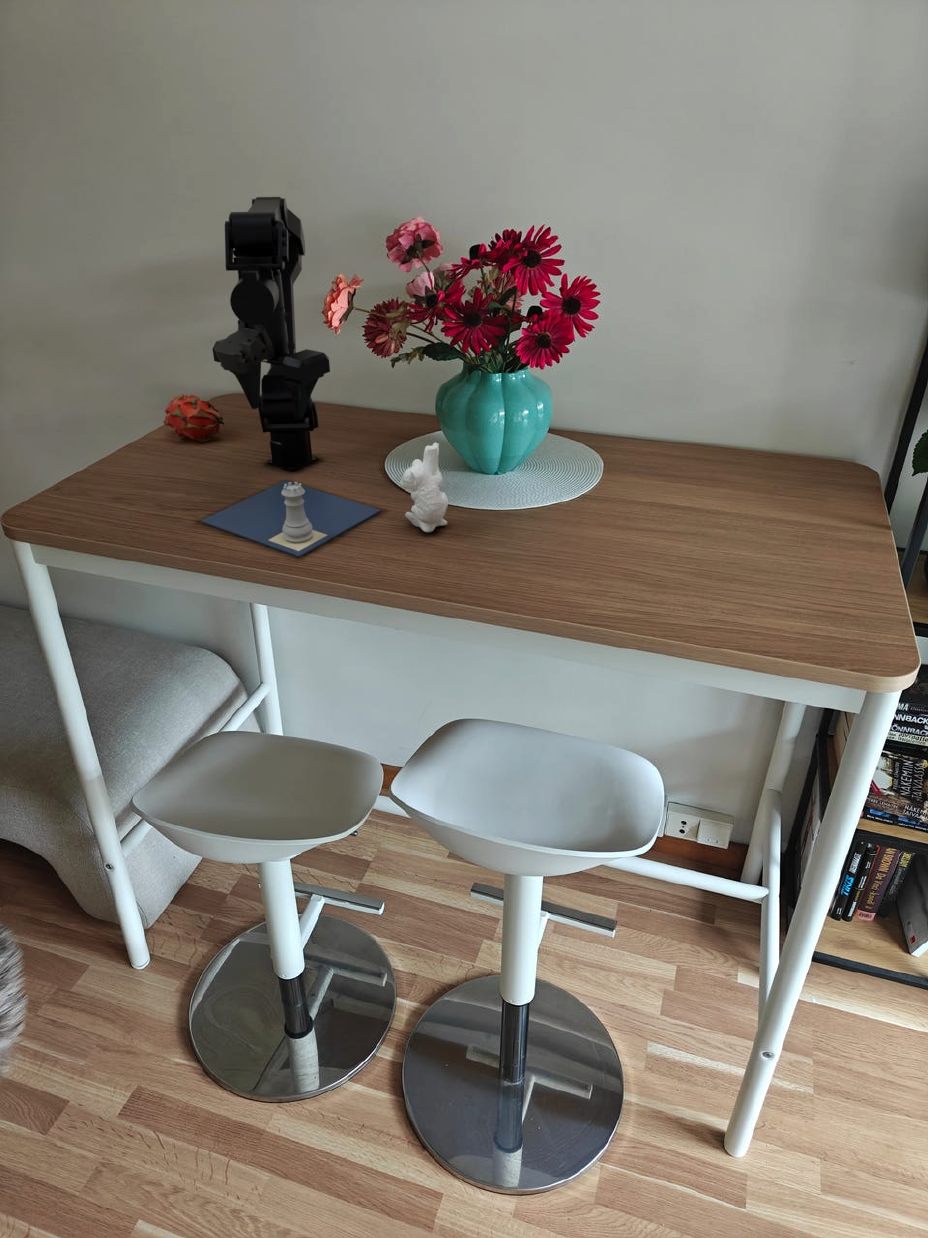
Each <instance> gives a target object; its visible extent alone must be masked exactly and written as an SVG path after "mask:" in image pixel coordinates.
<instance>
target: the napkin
mask: <svg viewBox="0 0 928 1238" xmlns="http://www.w3.org/2000/svg"><path fill="white" fill-rule="evenodd" d="M289 482H291V483H292V485H295V484H294V482H292V481H288V480H284V481H281V482H280V483H278V484H276V485H273V486H271V487H269V488H267V489H265V490H263V491H261V492H259V493H256V494H254V495H252V496H249V497H248V498H246V499H244V500H242V501H239V502H237V503H235V504H233V505H230V506H229V507H226V508H224V509H222V510H221V511H218V512H216V513H214V514H212V515H210V516H208V517H205V518H204V519H201V520H200V523H201V524H204V525H208V526H210V527H213V528H216V529H219V530H221V531H223V532H224V531H225V532H226V533H230V534H233V535H234V536H237V537H240V538H243V539H247V540H249V541H251V542H254V543H258V544H259V545H263V546H265V547H268V548H271V549H274V550H277V551H280V552H282V553H285V554H288V555H291V556H292V557H293V556H294V557H296V558H301V557H303V556H306V555H307V554H309V553H310V552H312V551H314V550H316V549H317V548H320V547H321V546H322V545H325V544H326V543H328V542H330V541H331V540H334V539H335V538H337V537H338V536H340V535H343V534H344V533H345V532H347V531H349V530H351V529H353V528H355V527H357V526H358V525H360V524H362V523H363V522H365V521H368V520H369V519H370V518H373V517H374V516H376V515H377V514H379V513H381V512H382V509H380V508H376V507H372V506H369V505H366V504H363V503H360V502H356V501H353V500H351V499H350V500H349V499H347V498H343V497H340V496H337V495H333V494H330V493H327V492H323V491H320V490H317V489H314V488H312V487H307V486H305V485H302V488H303V489H304V490H305V493H304V494H303V496H302V498H303V500H304V503H303V506H304V511H305V514H306V517H307V518H308V520H309V522H310V523H311V524H312V531H313V536H312V537H311V538H310V539H309V540H308V541H305V542H301V543H291V542H288V541H286V540H285V539H284V537H283V536H282V535H283V533H284V532H283V531H282V528H283V525H284V524H285V523H284V522H285V520H286V505H285V503H284V501H285V500H286V499H285V497H284V496H283V495H282V494H281V493H282V490H283V489H284V488H283V487H284V484H287V486H288V483H289Z"/></svg>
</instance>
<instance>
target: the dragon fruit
mask: <svg viewBox="0 0 928 1238" xmlns="http://www.w3.org/2000/svg"><path fill="white" fill-rule="evenodd" d="M164 412H165V413H166V415H165V417H164V420H163V422H162V423H163V424H164V426H167V427H170V428H172V429H173V430H174V433H175V435H176V436H177V437H178V439H179V440H183V439H185V437H188V438H191V439H193V440H194V441H198V442H207V441H210V440H211V441H212V438H210V437H205V436H206V435H209V434H217V433H220V432H221V428H222V426H221V425H223V426H224V425H225V423H224V421H223V420H224V418H223V416H222V415H223V414H222V413H220V410H218V409H216V408H215V405H214V404H212V403H211V402H209V401H207V400H201V399H200V397H199V396H197V395H193V394H190V395H188V394H186V393H181V394H179V395H178V396H175V397H172V398H171V400H170V402H169V403H168V405H167V406H166V407H165V410H164Z"/></svg>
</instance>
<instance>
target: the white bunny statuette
mask: <svg viewBox="0 0 928 1238" xmlns="http://www.w3.org/2000/svg"><path fill="white" fill-rule="evenodd" d="M439 446H440V443H438V442H433V443H432V445H426V446H425V447H424V450H423V451H424V452H423V460H420V459H417V458H416V459H414V460H413V461H412V463H411V466H409V467H408V468H407V469H406V470H405V471H404V473H403V475H402V477H401V480H400V481H399V485H400V487H401V488H404V489H407V490H410V491H411V493H410V498H411V500H412V501H413V502H414V504H413V505H412V506H411V508H410V509H411V511H407V512H405V515H404V516H405V518H406V519H408V520H409V522H410V523H411V524H412V525H413V526H415V527H416V528H417V527H418V528H420V529H421V530H422V532H425V533H432V532H433V531H434V530H435V529H436V527H443V526H446V525H448V521H447V520H445V519H444V517H445V514H446V513H447V509H448V506H449V500H448V499H449V498H448V496H447V495H446V493H445V492H444V491H440V487H441V486H442V485H443V480H444V479H443V475H442V473H441V470H440V469H439V451H440V447H439Z"/></svg>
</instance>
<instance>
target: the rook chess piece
mask: <svg viewBox="0 0 928 1238" xmlns="http://www.w3.org/2000/svg"><path fill="white" fill-rule="evenodd" d="M288 482H289V483H288V486H287V484H284V487H283V488H284V489H283V490H282V493H281V494H282V495H283V496H284V497H285V499H286V500H285V501H284V503H285V505H286V520H285V522H284V523H285V524H284V525H283V528H282V531H283V532H284V533H283V535H282V536H283V537H284V539H285V540H286V541H288V542H291V543H301V542H305V541H308V540H309V539H310V538H311V537H312V536H313V531H312V524H311V523H310V522H309V520H308V518H307V517H306V514H305V511H304V506H303V503H304V500H303V498H302V496H303V494H304V493H305V490H304V489H303V488H302V486H303V485H302V483H299V482H298V481H294V482H292V481H288ZM291 482H292V483H294V484H295V485H292V483H291Z"/></svg>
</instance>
